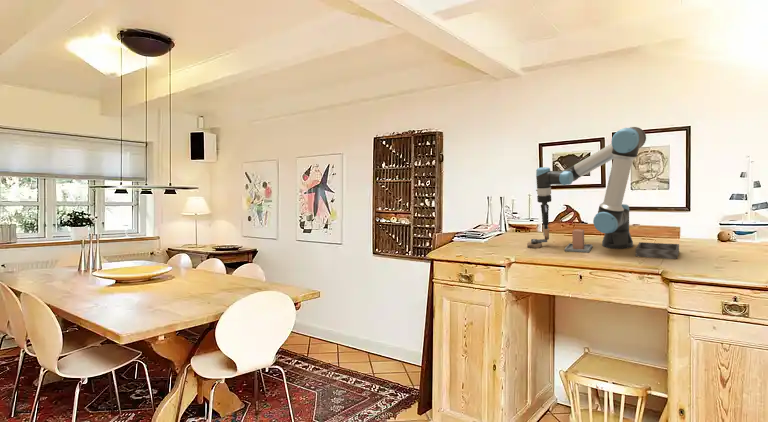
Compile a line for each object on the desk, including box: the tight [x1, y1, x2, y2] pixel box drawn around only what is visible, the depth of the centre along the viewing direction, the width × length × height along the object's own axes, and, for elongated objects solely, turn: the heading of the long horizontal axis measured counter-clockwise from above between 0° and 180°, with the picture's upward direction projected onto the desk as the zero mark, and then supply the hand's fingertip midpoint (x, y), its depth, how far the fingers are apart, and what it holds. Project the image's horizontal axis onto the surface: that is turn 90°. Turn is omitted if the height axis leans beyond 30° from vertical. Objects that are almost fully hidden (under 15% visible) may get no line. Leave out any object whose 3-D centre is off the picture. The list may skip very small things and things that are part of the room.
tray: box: [564, 242, 593, 253], centre depth 261 cm, size 12×12×2 cm
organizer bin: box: [635, 241, 680, 260], centre depth 239 cm, size 18×14×4 cm
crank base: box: [526, 241, 543, 249], centre depth 275 cm, size 8×8×2 cm
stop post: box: [572, 228, 585, 249], centre depth 261 cm, size 5×5×10 cm
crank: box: [530, 227, 551, 244], centre depth 274 cm, size 10×4×8 cm, turn 85°
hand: (545, 235), depth 276 cm, fingers closed
